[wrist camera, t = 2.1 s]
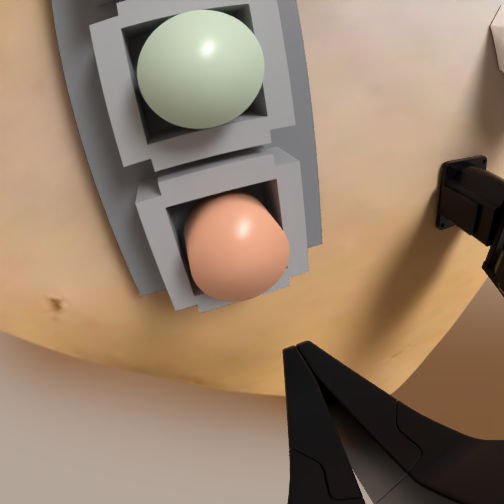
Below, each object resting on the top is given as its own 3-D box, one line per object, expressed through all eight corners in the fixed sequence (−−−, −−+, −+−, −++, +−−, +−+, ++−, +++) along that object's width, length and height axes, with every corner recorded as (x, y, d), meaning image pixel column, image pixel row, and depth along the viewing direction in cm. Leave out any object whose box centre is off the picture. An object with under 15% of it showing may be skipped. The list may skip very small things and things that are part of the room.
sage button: (235, 16, 11) (254, 2, 9) (251, 107, 13) (272, 115, 11) (133, 37, 10) (126, 26, 8) (154, 130, 13) (152, 142, 10)
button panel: (259, -101, 9) (289, -138, 5) (309, 230, 22) (344, 268, 18) (55, -63, 8) (30, -96, 4) (141, 278, 21) (141, 329, 17)
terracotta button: (262, 179, 15) (284, 202, 13) (273, 253, 18) (293, 285, 15) (173, 202, 15) (177, 231, 12) (195, 276, 17) (204, 312, 15)
